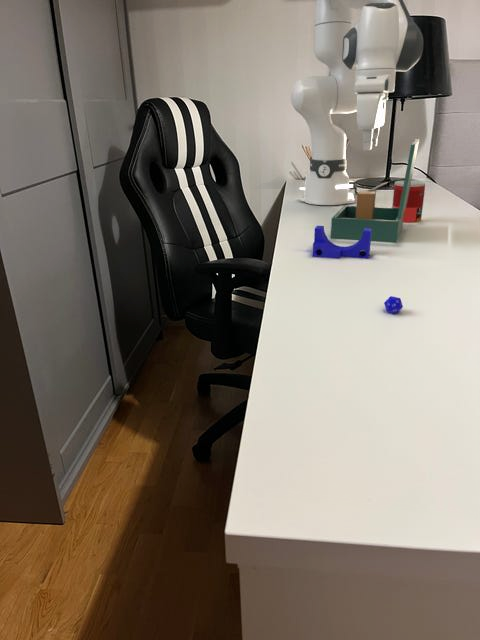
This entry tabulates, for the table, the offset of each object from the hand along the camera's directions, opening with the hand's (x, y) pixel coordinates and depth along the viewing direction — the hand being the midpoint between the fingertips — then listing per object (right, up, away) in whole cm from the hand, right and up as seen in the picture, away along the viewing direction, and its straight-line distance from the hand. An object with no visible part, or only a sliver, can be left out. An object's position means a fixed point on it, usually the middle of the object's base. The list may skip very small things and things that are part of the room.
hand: (370, 148), depth 119 cm
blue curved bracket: (-9, -27, -8) cm, 29 cm away
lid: (+9, -7, 0) cm, 11 cm away
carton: (0, -19, +8) cm, 20 cm away
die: (-6, -40, -38) cm, 56 cm away
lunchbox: (+1, -19, +8) cm, 21 cm away
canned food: (+15, -14, +21) cm, 29 cm away
